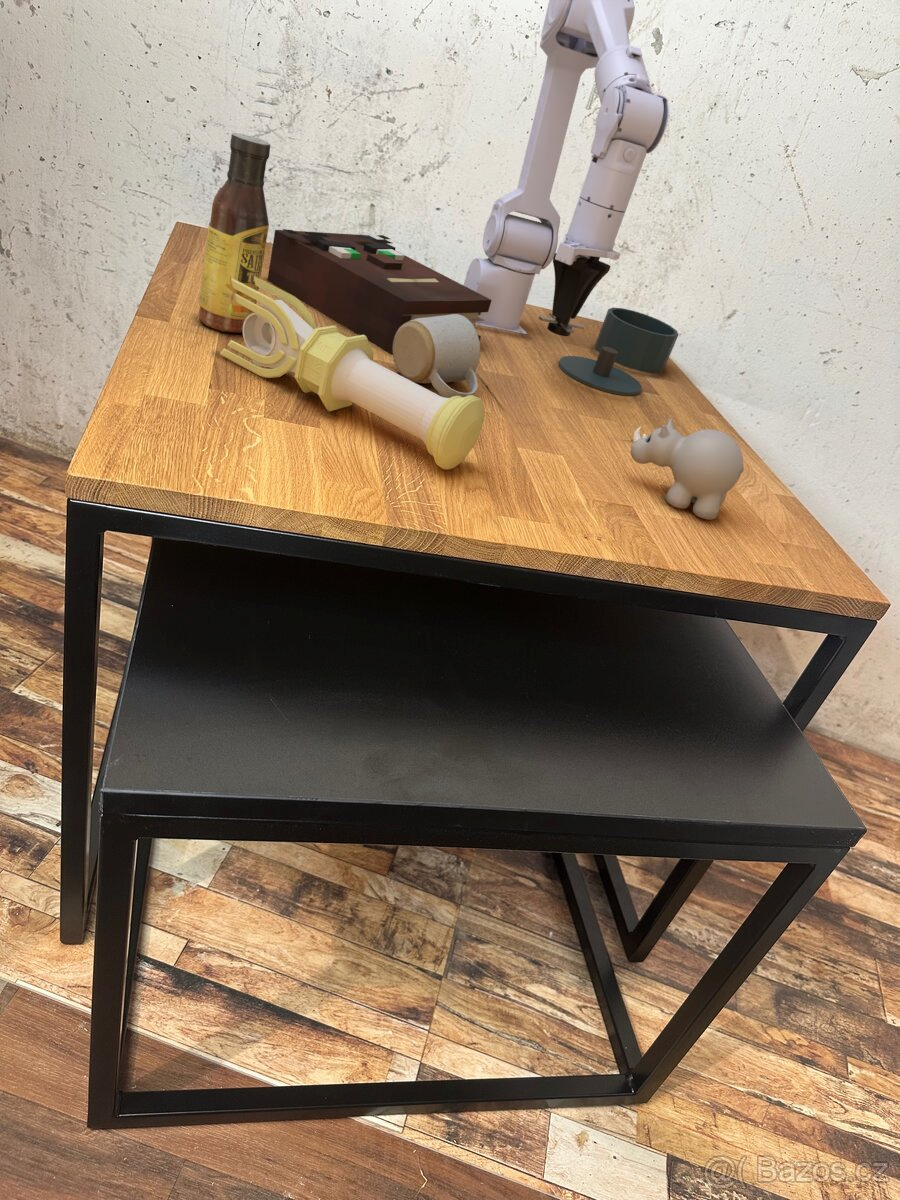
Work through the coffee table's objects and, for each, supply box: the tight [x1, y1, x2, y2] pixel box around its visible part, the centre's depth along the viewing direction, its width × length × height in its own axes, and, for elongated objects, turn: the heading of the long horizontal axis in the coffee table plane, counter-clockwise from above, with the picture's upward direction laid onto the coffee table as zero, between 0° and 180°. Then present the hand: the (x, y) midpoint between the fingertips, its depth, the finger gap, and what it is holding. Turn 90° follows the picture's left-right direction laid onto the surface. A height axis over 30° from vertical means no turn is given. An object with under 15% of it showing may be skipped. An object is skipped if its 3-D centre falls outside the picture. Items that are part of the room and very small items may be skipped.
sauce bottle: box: [198, 132, 271, 334], centre depth 95 cm, size 7×6×20 cm
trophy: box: [219, 276, 486, 470], centre depth 87 cm, size 8×8×30 cm
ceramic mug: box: [392, 314, 481, 398], centre depth 101 cm, size 11×8×8 cm
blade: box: [538, 312, 584, 337], centre depth 109 cm, size 6×6×6 cm
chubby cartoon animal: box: [630, 418, 745, 521], centre depth 92 cm, size 7×12×8 cm, turn 62°
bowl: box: [594, 307, 679, 374], centre depth 134 cm, size 11×11×6 cm
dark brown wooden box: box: [266, 228, 492, 356], centre depth 118 cm, size 19×8×30 cm
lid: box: [558, 347, 643, 397], centre depth 122 cm, size 12×12×5 cm
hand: (563, 317), depth 109 cm, fingers closed on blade
